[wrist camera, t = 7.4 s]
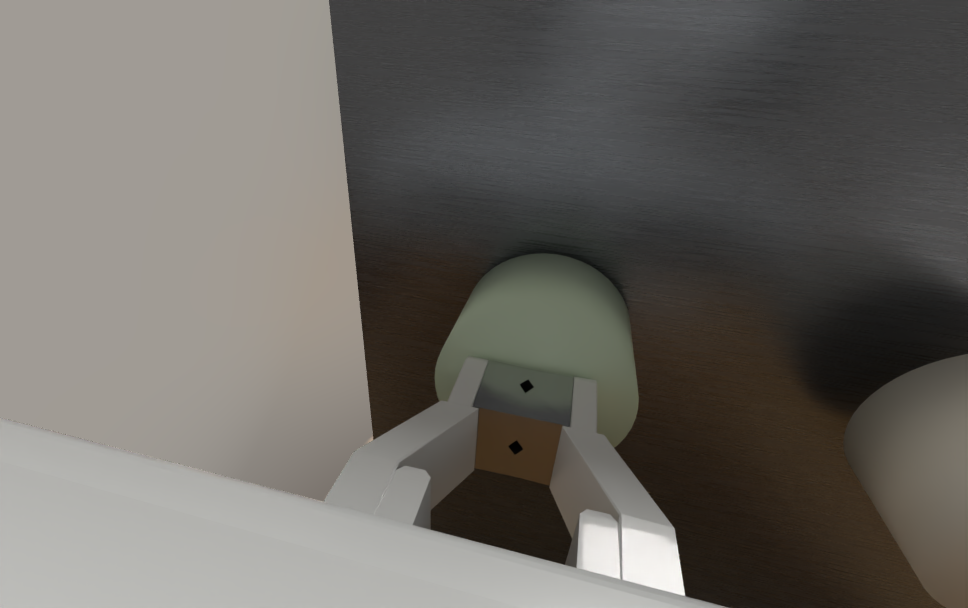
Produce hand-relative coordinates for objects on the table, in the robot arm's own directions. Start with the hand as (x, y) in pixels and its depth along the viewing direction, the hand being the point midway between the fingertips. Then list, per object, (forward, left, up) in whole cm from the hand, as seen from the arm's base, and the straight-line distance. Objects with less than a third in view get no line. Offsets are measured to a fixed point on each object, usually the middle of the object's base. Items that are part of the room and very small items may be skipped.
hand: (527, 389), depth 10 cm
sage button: (+1, -1, -3) cm, 3 cm away
